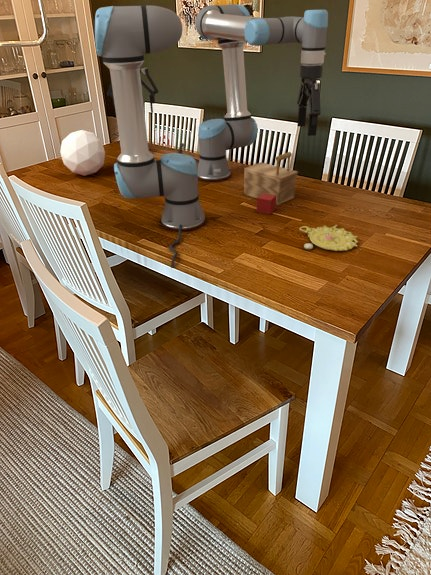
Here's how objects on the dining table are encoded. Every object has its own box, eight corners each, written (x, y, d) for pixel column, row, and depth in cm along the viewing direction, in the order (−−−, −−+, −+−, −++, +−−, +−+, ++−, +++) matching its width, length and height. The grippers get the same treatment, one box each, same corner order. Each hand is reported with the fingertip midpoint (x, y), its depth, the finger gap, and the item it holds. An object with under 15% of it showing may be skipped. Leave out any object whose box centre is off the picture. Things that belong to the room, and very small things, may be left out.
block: (275, 209, 164) (276, 195, 161) (270, 214, 160) (270, 200, 157) (262, 206, 166) (262, 193, 163) (256, 211, 162) (256, 198, 159)
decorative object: (343, 255, 128) (285, 234, 139) (342, 262, 130) (284, 241, 140) (372, 230, 142) (317, 213, 152) (371, 237, 143) (316, 219, 153)
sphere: (92, 190, 205) (77, 164, 186) (61, 170, 209) (44, 142, 190) (118, 162, 209) (107, 134, 191) (87, 142, 214) (73, 113, 195)
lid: (297, 174, 167) (299, 152, 163) (281, 181, 161) (282, 158, 157) (260, 164, 178) (261, 144, 174) (244, 170, 172) (244, 149, 168)
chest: (294, 197, 173) (295, 173, 168) (278, 205, 167) (279, 180, 162) (260, 187, 183) (260, 164, 178) (244, 194, 177) (244, 170, 172)
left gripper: (160, 52, 174) (165, 109, 185) (95, 55, 171) (104, 113, 182) (161, 54, 167) (166, 113, 179) (94, 56, 165) (103, 116, 176)
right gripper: (335, 68, 136) (327, 139, 148) (312, 60, 157) (306, 122, 169) (311, 69, 136) (305, 140, 147) (291, 60, 157) (287, 123, 168)
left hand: (135, 113), depth 181 cm, fingers open, 13 cm apart
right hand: (306, 130), depth 158 cm, fingers open, 13 cm apart
